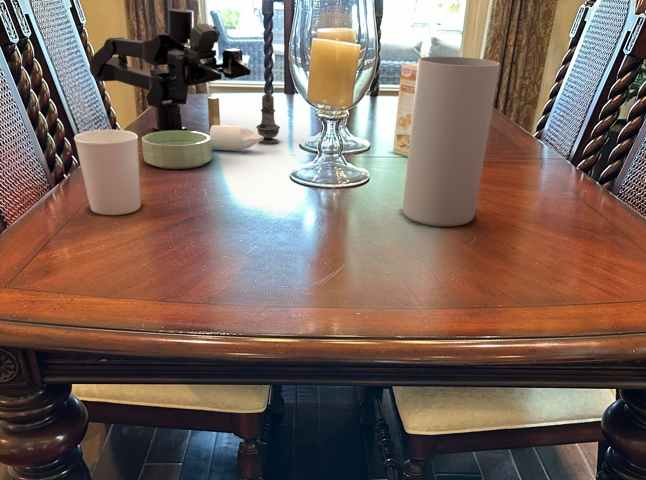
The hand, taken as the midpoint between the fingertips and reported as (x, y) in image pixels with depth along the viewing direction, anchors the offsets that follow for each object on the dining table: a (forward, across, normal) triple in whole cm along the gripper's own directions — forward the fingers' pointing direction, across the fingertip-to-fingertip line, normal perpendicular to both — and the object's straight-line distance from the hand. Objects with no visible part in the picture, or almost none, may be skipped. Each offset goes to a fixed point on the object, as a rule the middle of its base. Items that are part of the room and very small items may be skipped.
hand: (236, 74), depth 137 cm
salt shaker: (+3, +9, +16) cm, 19 cm away
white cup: (+18, -46, +13) cm, 52 cm away
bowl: (+2, -19, +15) cm, 25 cm away
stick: (-12, +4, +17) cm, 21 cm away
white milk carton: (+4, -3, +16) cm, 17 cm away
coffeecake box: (+35, +29, +14) cm, 48 cm away
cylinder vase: (+61, -10, +10) cm, 63 cm away
